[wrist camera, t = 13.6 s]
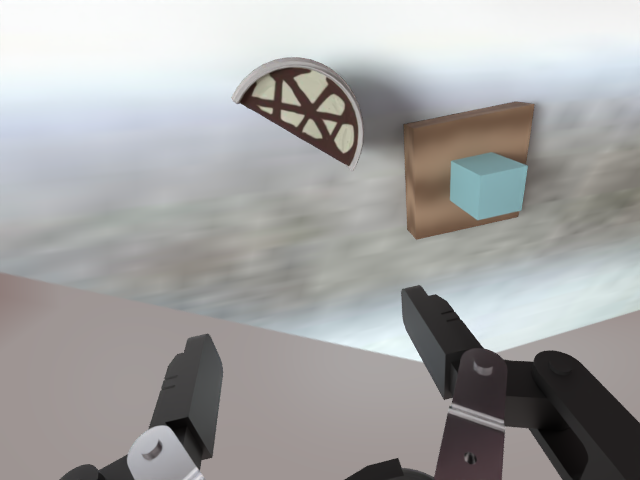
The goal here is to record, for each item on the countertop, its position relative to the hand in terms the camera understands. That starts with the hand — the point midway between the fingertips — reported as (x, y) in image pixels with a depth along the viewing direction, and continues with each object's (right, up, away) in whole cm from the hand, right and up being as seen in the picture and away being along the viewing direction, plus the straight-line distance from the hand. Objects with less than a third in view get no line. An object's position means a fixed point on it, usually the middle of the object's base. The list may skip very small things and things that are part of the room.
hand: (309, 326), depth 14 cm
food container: (-1, +19, +22) cm, 29 cm away
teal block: (+18, +11, +26) cm, 34 cm away
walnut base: (+18, +13, +29) cm, 36 cm away
